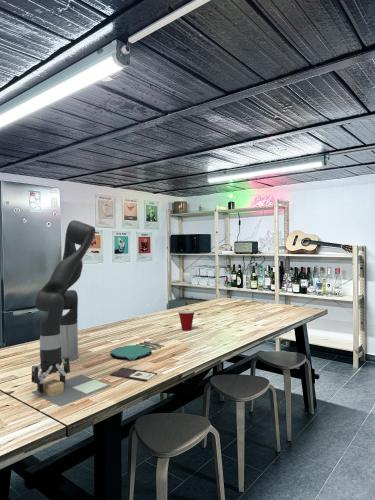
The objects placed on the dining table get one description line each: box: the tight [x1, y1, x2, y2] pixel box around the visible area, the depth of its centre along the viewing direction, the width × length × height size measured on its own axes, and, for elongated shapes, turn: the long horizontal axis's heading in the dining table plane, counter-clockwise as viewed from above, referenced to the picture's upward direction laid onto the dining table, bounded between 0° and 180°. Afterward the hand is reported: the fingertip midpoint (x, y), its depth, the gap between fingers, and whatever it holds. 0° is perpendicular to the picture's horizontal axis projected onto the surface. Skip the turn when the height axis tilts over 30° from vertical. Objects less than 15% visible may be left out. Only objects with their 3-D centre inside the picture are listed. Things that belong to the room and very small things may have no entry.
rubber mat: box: [30, 374, 112, 408], centre depth 137 cm, size 20×22×1 cm
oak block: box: [43, 377, 64, 397], centre depth 134 cm, size 8×5×4 cm, turn 51°
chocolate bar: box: [109, 367, 158, 383], centre depth 152 cm, size 9×1×18 cm
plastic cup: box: [177, 310, 196, 332], centre depth 229 cm, size 11×11×12 cm
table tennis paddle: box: [109, 340, 166, 362], centre depth 184 cm, size 20×30×2 cm, turn 146°
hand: (51, 389), depth 134 cm, fingers open, 8 cm apart
